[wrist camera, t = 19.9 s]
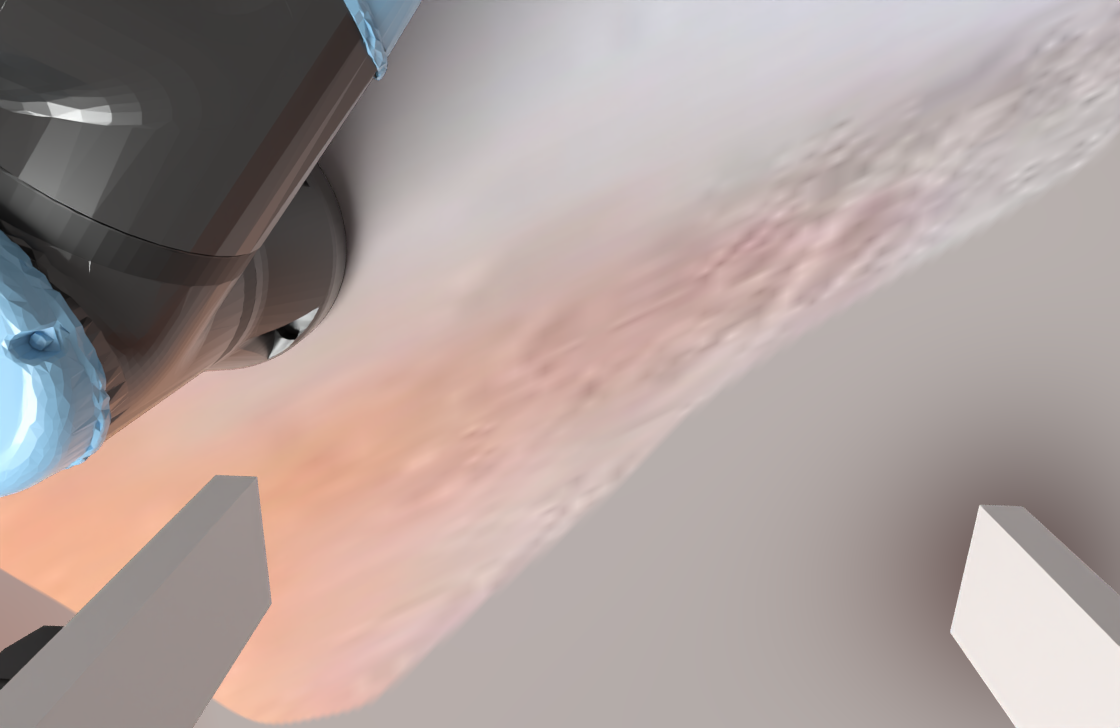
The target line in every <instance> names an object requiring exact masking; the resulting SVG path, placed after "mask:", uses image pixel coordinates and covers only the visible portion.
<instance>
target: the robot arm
mask: <svg viewBox="0 0 1120 728" xmlns="http://www.w3.org/2000/svg"><path fill="white" fill-rule="evenodd" d="M421 1H422V0H0V497H3V496H7V495H10V494H14V493H17V492H20V491H22V490H25V489H27V488H29V487H32V486H34V485H36V484H37V483H39V482H41V481H43V480H44V479H46V478H48V477H50V476H52V475H54V474H55V473H57V472H59V471H61V470H63V469H69V468H71V467H73V466H74V465H78V464H81V463H82V462H84V461H86V459H87V458H88V457H89V456H90V455H92V454H93V453H95V452H96V451H97V450H98V449H99V448H100V447H101V445H102V444H103V442H104V441H106V440H107V439H109V438H110V437H111V436H113V435H114V434H116V433H117V432H119V431H120V430H121V429H123V428H124V427H126V426H127V425H128V424H130V423H131V422H133V421H134V420H135V419H137V418H138V417H140V416H141V415H143V414H144V413H145V412H147V411H148V410H150V409H151V408H152V407H154V406H155V405H157V404H158V403H160V402H161V401H162V400H164V399H165V398H167V397H168V396H169V395H171V394H172V393H174V392H175V391H177V390H178V389H179V388H181V387H182V386H184V385H185V384H186V383H188V382H189V381H191V380H192V379H194V378H195V377H196V376H198V375H199V374H201V373H202V372H204V371H219V370H233V369H241V368H246V367H250V366H254V365H257V364H261V363H263V362H266V361H268V360H271V359H273V358H275V357H277V356H279V355H281V354H283V353H284V352H286V351H288V350H289V349H291V348H292V347H293V346H295V345H296V344H297V343H298V342H300V341H301V340H302V339H303V338H305V337H306V336H307V335H308V334H309V333H311V332H312V331H313V330H314V329H315V328H316V327H317V326H318V325H319V323H320V322H321V321H322V320H323V319H324V317H325V316H326V315H327V313H328V312H329V310H330V308H331V307H332V305H333V303H334V301H335V299H336V297H337V294H338V292H339V289H340V286H341V283H342V279H343V275H344V270H345V263H346V237H345V229H344V223H343V219H342V215H341V211H340V208H339V205H338V202H337V199H336V197H335V194H334V192H333V190H332V188H331V186H330V184H329V182H328V180H327V179H326V177H325V175H324V173H323V172H322V170H321V169H320V167H319V166H318V165H317V162H318V160H319V159H320V157H321V156H322V154H323V153H324V151H325V150H326V148H327V147H328V145H329V144H330V142H331V141H332V139H333V138H334V136H335V135H336V133H337V132H338V130H339V129H340V127H341V126H342V124H343V123H344V121H345V120H346V118H347V117H348V115H349V114H350V112H351V111H352V109H353V108H354V106H355V105H356V103H357V102H358V100H359V99H360V97H361V96H362V94H363V93H364V91H365V90H366V88H367V87H368V85H369V84H370V82H371V81H372V79H373V78H374V79H376V80H378V81H379V80H380V79H382V77H383V76H384V74H385V72H386V70H387V64H388V62H387V57H388V56H389V54H390V52H391V51H392V49H393V48H394V46H395V44H396V43H397V41H398V39H399V38H400V36H401V34H402V33H403V31H404V29H405V28H406V26H407V24H408V23H409V21H410V19H411V18H412V16H413V15H414V13H415V11H416V10H417V8H418V6H419V5H420V3H421ZM271 604H272V602H271V593H270V585H269V576H268V567H267V559H266V550H265V541H264V533H263V524H262V516H261V507H260V498H259V490H258V481H257V477H250V476H224V475H215V476H214V477H213V478H212V479H211V480H210V481H209V482H208V483H207V484H206V485H205V486H204V487H203V488H202V489H201V490H200V491H199V492H198V493H197V494H196V495H195V496H194V497H193V498H192V499H191V500H190V501H189V502H188V503H187V504H186V505H185V506H184V507H183V508H182V509H181V510H180V511H179V512H178V513H177V514H176V515H175V516H174V517H173V518H172V519H171V520H170V521H169V522H168V523H167V524H166V525H165V526H164V527H163V528H162V529H161V530H160V531H159V532H158V533H157V534H156V535H155V536H154V537H153V538H152V539H151V540H150V541H149V542H148V543H147V544H146V545H145V546H144V547H143V548H142V549H141V550H140V551H139V552H138V553H137V554H136V555H135V556H134V557H133V558H132V559H131V560H130V561H129V562H128V563H127V564H126V565H125V566H124V567H123V568H122V569H121V570H120V571H119V572H118V573H117V574H116V575H115V576H114V577H113V578H112V579H111V580H110V581H109V582H108V583H107V584H106V585H105V586H104V587H103V588H102V589H101V590H100V591H99V592H98V593H97V594H96V595H95V596H94V597H93V598H92V599H91V600H90V601H89V602H88V603H87V604H86V605H85V606H84V607H83V608H82V609H81V610H80V611H79V612H78V613H77V614H76V615H75V616H74V617H73V618H72V619H71V620H70V621H69V622H68V623H67V624H66V625H65V626H43V627H41V628H39V629H37V630H36V631H34V632H32V633H31V634H29V635H27V636H25V637H24V638H22V639H20V640H19V641H17V642H15V643H14V644H12V645H10V646H9V647H7V648H5V649H4V650H3V651H2V652H1V653H0V728H193V727H194V725H195V724H196V722H197V721H198V719H199V717H200V716H201V714H202V713H203V711H204V709H205V708H206V706H207V705H208V703H209V702H210V700H211V698H212V697H213V695H214V694H215V692H216V691H217V689H218V687H219V686H220V684H221V683H222V681H223V679H224V678H225V676H226V675H227V673H228V672H229V670H230V668H231V667H232V665H233V664H234V662H235V661H236V659H237V657H238V656H239V654H240V653H241V651H242V649H243V648H244V646H245V645H246V643H247V642H248V640H249V638H250V637H251V635H252V634H253V632H254V630H255V629H256V627H257V626H258V624H259V623H260V621H261V619H262V618H263V616H264V615H265V613H266V611H267V610H268V608H269V607H270V605H271ZM950 633H951V634H952V636H953V637H954V639H955V640H956V641H957V643H958V644H959V646H960V647H961V649H962V650H963V652H964V653H965V654H966V656H967V657H968V659H969V660H970V662H971V663H972V664H973V666H974V667H975V669H976V670H977V672H978V673H979V675H980V676H981V678H982V679H983V680H984V682H985V683H986V685H987V686H988V688H989V689H990V691H991V692H992V694H993V695H994V696H995V698H996V699H997V701H998V702H999V704H1000V705H1001V706H1002V708H1003V709H1004V711H1005V712H1006V714H1007V715H1008V717H1009V718H1010V720H1011V721H1012V723H1013V724H1014V725H1015V727H1016V728H1120V595H1119V594H1118V593H1116V592H1115V591H1114V590H1113V589H1112V588H1111V587H1110V586H1109V585H1108V584H1107V583H1105V581H1103V580H1102V579H1101V578H1100V577H1099V576H1098V575H1097V574H1096V573H1095V572H1094V571H1092V570H1091V569H1090V568H1089V567H1088V566H1087V565H1086V564H1085V563H1084V562H1083V561H1082V560H1081V559H1079V558H1078V557H1077V556H1076V555H1075V554H1074V553H1073V552H1072V551H1071V550H1070V549H1069V548H1067V547H1066V546H1065V545H1064V544H1063V543H1062V542H1061V541H1060V540H1059V539H1058V538H1057V537H1055V536H1054V535H1053V534H1052V533H1051V532H1050V531H1049V530H1048V529H1047V528H1046V527H1045V526H1044V525H1042V524H1041V523H1040V522H1039V521H1038V520H1037V519H1036V518H1035V517H1034V516H1033V515H1032V514H1030V513H1029V512H1028V511H1027V510H1026V509H1025V508H1024V507H1023V506H996V505H980V506H979V510H978V514H977V519H976V523H975V527H974V532H973V536H972V540H971V545H970V549H969V553H968V557H967V562H966V566H965V571H964V575H963V579H962V583H961V588H960V592H959V596H958V600H957V605H956V609H955V613H954V618H953V622H952V627H951V631H950Z"/></svg>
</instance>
